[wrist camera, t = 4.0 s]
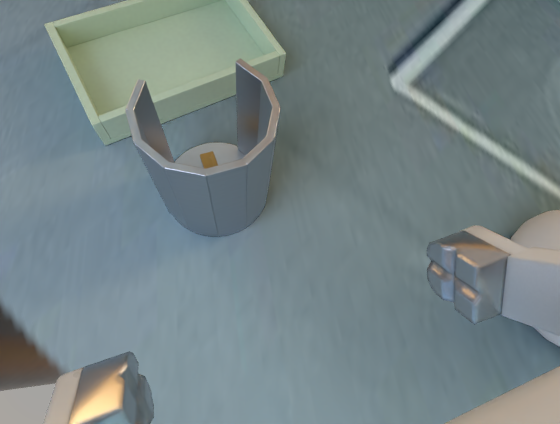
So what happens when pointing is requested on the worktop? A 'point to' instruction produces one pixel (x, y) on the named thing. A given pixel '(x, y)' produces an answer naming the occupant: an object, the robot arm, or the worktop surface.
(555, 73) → the worktop surface
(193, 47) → the tray
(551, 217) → the donut
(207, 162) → the key
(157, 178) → the steel cup
